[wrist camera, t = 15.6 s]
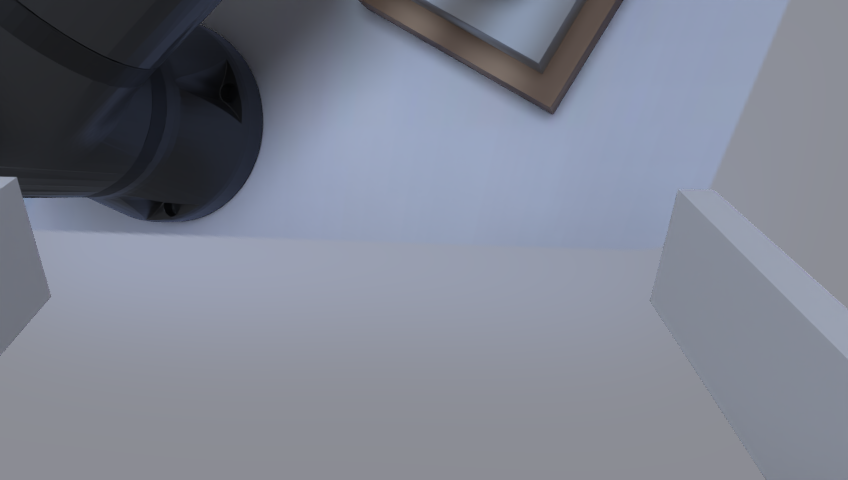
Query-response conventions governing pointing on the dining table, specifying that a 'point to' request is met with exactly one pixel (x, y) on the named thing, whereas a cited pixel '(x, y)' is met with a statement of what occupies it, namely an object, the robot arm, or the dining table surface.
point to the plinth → (497, 61)
